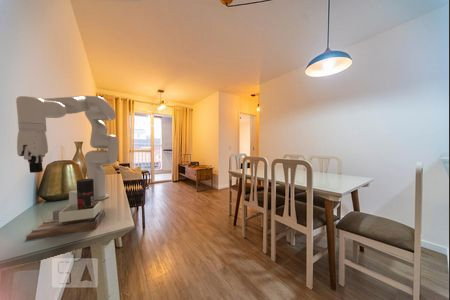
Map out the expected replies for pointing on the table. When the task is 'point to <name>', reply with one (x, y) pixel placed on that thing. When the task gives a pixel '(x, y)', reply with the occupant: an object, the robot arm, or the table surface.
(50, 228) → the rail board
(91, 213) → the white open tray
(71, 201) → the small box
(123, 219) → the table surface
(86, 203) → the deodorant
